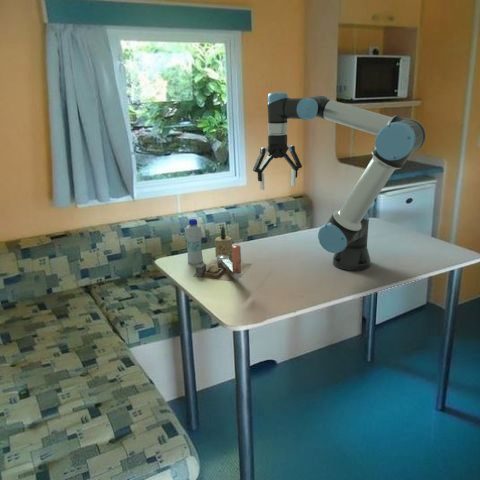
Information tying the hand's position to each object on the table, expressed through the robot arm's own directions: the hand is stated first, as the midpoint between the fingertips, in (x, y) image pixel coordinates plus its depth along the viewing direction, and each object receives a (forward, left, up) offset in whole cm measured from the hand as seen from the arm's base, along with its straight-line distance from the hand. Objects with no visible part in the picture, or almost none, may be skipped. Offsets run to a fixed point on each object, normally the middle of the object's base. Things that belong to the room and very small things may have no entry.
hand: (277, 187), depth 197 cm
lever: (+13, +23, -28) cm, 38 cm away
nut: (+19, +24, -30) cm, 43 cm away
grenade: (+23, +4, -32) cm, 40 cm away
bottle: (+32, +14, -32) cm, 47 cm away
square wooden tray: (+17, +20, -32) cm, 41 cm away
